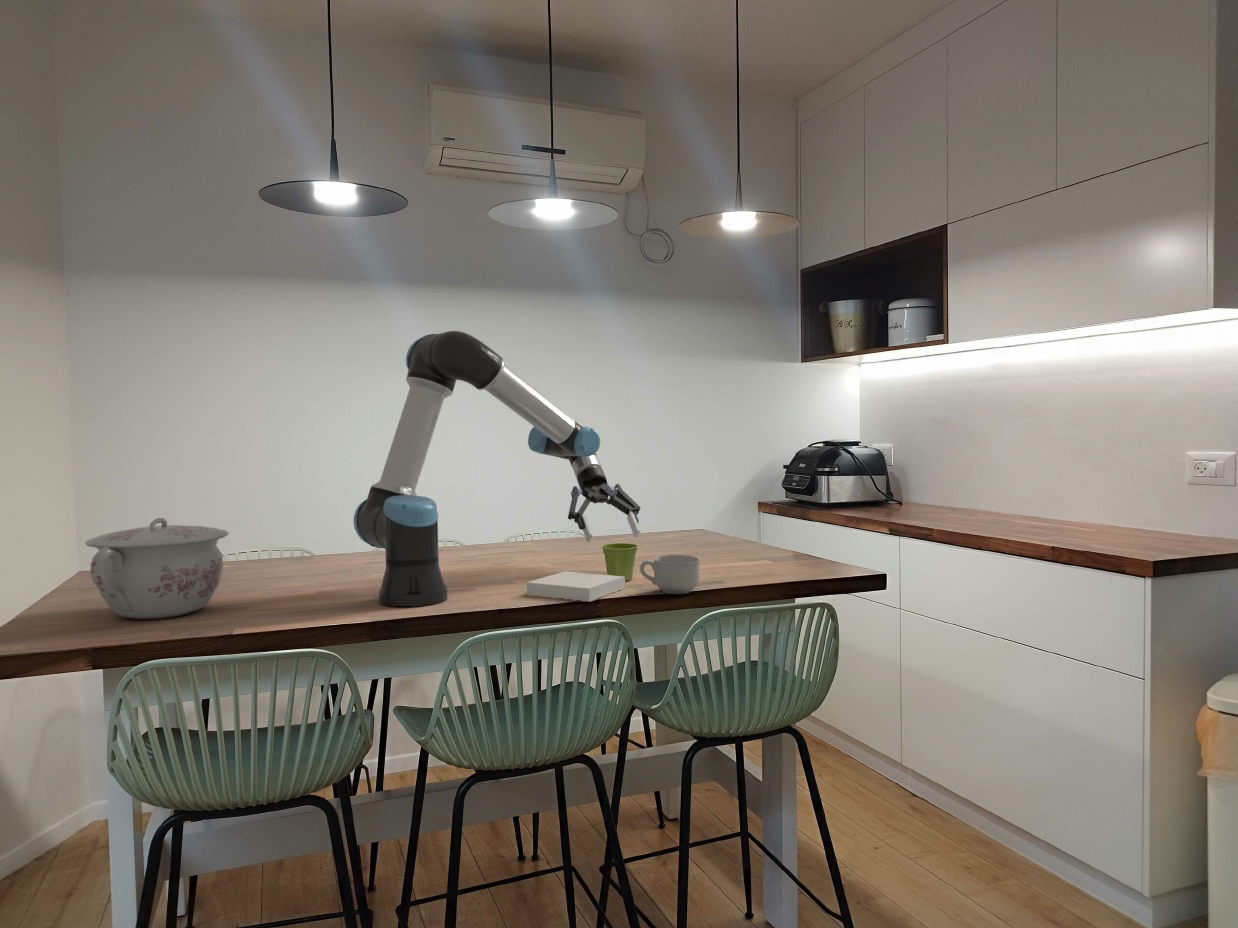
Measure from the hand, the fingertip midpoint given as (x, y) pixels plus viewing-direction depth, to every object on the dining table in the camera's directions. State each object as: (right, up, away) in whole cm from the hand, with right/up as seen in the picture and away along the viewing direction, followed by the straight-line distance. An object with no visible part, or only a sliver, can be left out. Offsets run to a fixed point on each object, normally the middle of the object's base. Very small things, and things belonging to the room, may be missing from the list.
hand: (614, 536), depth 223 cm
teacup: (+13, -11, -21) cm, 27 cm away
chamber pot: (-98, -14, -35) cm, 105 cm away
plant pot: (+2, -11, -5) cm, 12 cm away
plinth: (-9, -11, -20) cm, 25 cm away
